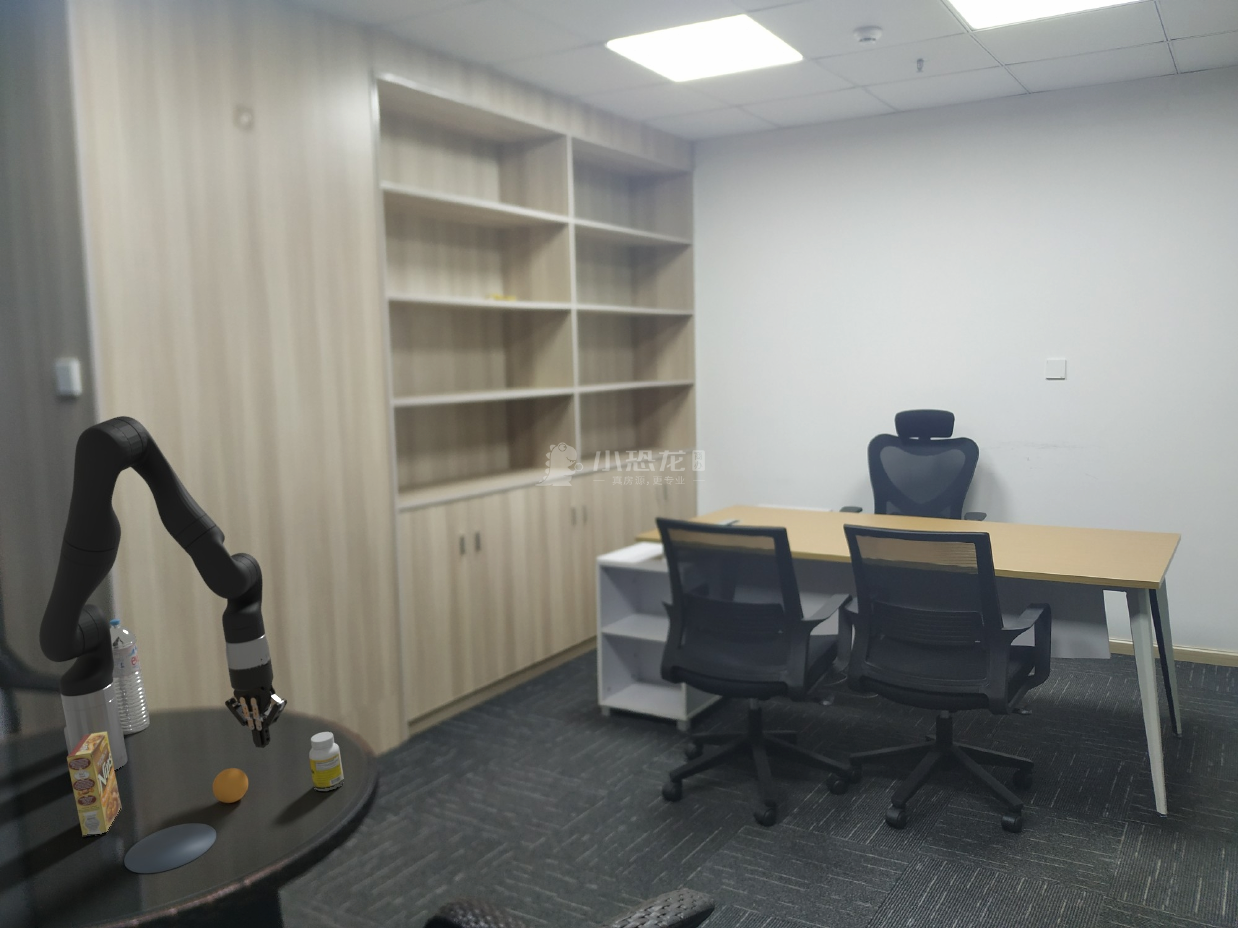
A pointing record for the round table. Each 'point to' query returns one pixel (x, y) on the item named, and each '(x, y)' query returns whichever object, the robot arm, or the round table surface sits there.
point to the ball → (230, 785)
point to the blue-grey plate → (170, 848)
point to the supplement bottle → (325, 761)
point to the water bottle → (128, 680)
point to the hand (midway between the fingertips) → (262, 745)
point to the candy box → (94, 783)
